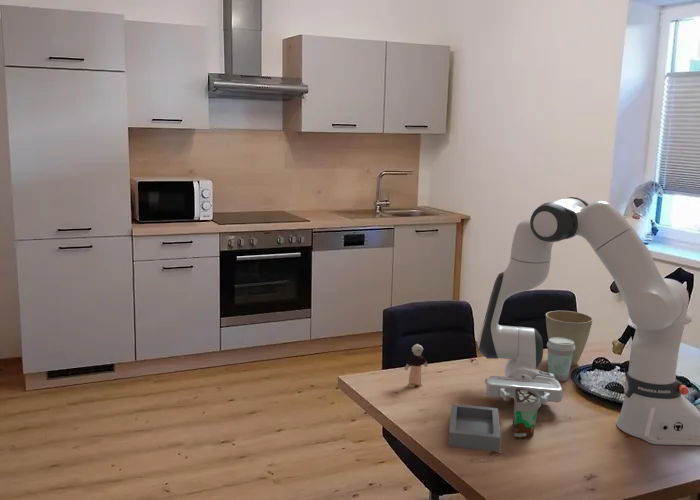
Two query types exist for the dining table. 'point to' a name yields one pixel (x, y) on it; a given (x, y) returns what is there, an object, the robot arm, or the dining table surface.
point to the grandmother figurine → (415, 366)
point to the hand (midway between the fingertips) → (525, 399)
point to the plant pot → (569, 329)
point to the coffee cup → (560, 357)
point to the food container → (525, 412)
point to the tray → (474, 427)
